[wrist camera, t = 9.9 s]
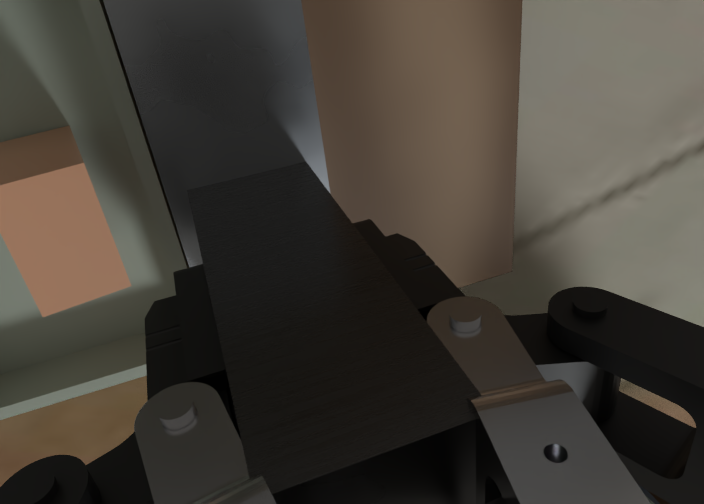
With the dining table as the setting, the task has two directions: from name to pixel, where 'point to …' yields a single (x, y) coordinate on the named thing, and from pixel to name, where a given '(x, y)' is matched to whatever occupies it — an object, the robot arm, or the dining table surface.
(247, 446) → the scraper
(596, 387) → the robot arm
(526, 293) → the dining table surface
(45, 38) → the box
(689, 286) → the dining table surface
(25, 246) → the tile
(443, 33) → the brown slab
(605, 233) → the dining table surface
